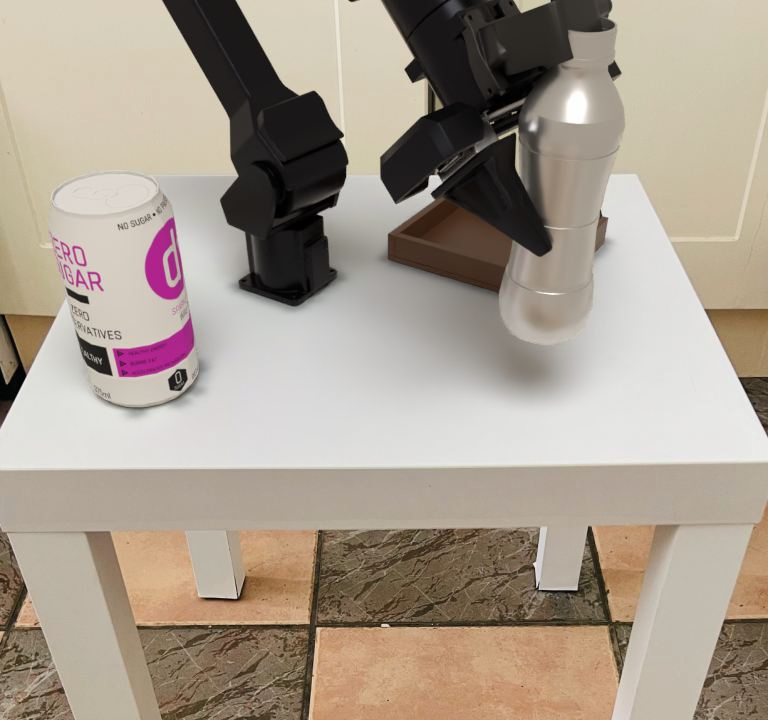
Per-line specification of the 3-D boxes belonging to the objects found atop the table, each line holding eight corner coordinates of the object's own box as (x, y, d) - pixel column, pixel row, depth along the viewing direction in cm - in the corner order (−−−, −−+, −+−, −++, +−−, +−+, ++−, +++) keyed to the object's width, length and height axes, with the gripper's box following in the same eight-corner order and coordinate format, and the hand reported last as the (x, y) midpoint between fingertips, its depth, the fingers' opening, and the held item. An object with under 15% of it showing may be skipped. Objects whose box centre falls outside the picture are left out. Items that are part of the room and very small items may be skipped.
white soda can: (214, 356, 73) (186, 171, 63) (176, 418, 67) (138, 224, 57) (119, 346, 74) (76, 162, 64) (73, 405, 68) (17, 213, 58)
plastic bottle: (583, 309, 67) (637, 8, 54) (590, 360, 62) (651, 43, 49) (495, 303, 68) (526, 4, 54) (494, 354, 63) (529, 39, 49)
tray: (387, 259, 85) (387, 233, 83) (459, 205, 93) (461, 180, 91) (541, 305, 78) (545, 278, 77) (604, 242, 87) (608, 217, 85)
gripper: (421, -45, 45) (579, 232, 48) (620, -100, 56) (743, 129, 58) (316, 85, 55) (452, 312, 57) (503, 17, 65) (613, 212, 67)
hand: (571, 237), depth 59 cm, fingers closed on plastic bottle, 5 cm apart
